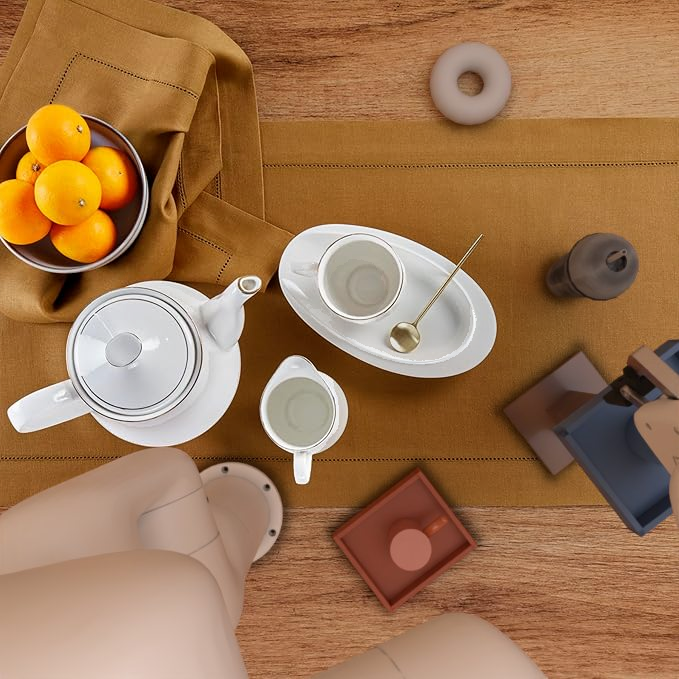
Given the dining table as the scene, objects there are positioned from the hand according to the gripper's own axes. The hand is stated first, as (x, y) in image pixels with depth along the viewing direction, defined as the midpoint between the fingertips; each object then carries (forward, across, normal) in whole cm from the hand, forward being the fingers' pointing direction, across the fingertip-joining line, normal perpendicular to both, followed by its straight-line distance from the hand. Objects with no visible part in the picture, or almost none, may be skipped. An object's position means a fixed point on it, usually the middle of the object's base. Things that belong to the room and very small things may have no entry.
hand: (654, 436), depth 53 cm
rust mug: (+27, +2, -21) cm, 35 cm away
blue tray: (+5, +2, +1) cm, 6 cm away
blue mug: (+5, +2, +3) cm, 6 cm away
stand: (+27, +2, +2) cm, 27 cm away
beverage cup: (+27, -11, +12) cm, 32 cm away
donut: (+27, -37, +17) cm, 49 cm away
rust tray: (+28, +2, -23) cm, 36 cm away
